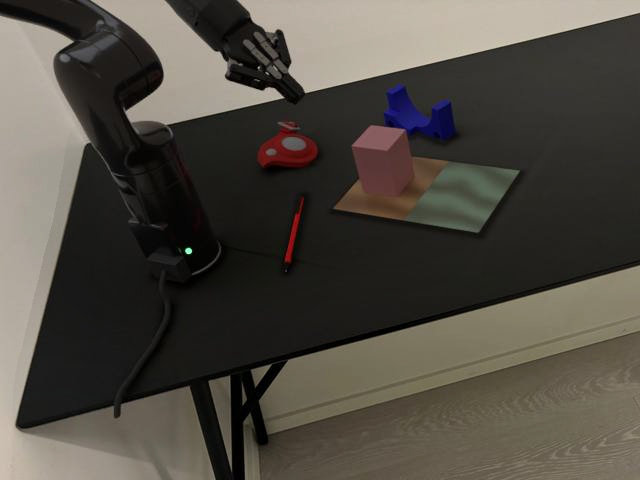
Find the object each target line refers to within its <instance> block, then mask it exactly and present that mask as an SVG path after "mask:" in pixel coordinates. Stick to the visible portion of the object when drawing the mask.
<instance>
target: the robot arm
mask: <svg viewBox="0 0 640 480" xmlns="http://www.w3.org/2000/svg"><path fill="white" fill-rule="evenodd" d="M164 1H165V2H166V3H167V4H168V5H169V7H170V8H171V9H172V10H173V12H174V14H176V16H178V18H179V19H180V20H182V21H183V23H185V24H186V26H188V28H190V29H191V30H192V32H194V33H195V35H197V36H198V37H199V38H200V39H201V40H202V41H203V42H204V43H205V44H206V45H207V46H208V47H209V48H210V49H211V50H212V51H214V52H215V53H220V55H221V57H222V59H223V60H224V61H225V62H226V66H227V67H226V72H225V74H224V78H225V80H227V81H228V82H232V83H236V84H238V85H240V86H241V85H242V86H245V87H248V88H251V89H254V90H258V91H262V92H263V91H265V90H266V89H268V88H270V89H274V90H275V91H276V92H278V93H279V94H280V95H281V96H282V97H283V99H284V100H286V101H287V102H288V103H290V104H292V105H297V104H298V103H300V102H301V101H302V100H303V99H304V97H305V96H306V91H305V89H304V87H303V86H302V85H301V84H300V83H299V82H298V81H297V80H296V79H295V78H294V77H293V76H292V75H291V74H290V72H289V69H290V67H291V66H292V63H293V62H292V59H291V54H290V51H289V47H288V44H287V40H286V37H285V34H284V33H285V32H284V31H283V30H282V29H279V28H277V29H276V30H275V31H274V32H271V31H266V30H265V28H263V26H261V25H259V24H257V23H256V22H254V20H253V19H252V16H251V13H250V11H249V10H248V9H247V8H246V7H245V6H244V5H243V4H242V3H241V2H240V1H239V0H164ZM0 17H2V18H6V19H10V20H12V21H13V20H14V21H18V22H22V23H26V24H31V25H34V26H38V27H41V28H45V29H48V30H50V31H52V32H56V33H57V34H59V35H61V36H63V37H65V38H67V39H69V40H70V41H72V42H71V43H70V44H68V45H66V46H64V47H62V48H61V49H59V51H57V52H56V53H55V55H54V56H53V62H52V67H53V73H54V76H55V80H56V82H57V85H58V86H59V89H60V91H61V92H62V94H63V96H64V98H65V100H66V101H67V103H68V105H69V106H70V109H71V110H72V112H73V113H74V115H75V117H76V119H77V120H78V122H79V124H80V126H81V128H82V130H83V131H84V134H85V135H86V137H87V138H88V140H89V142H90V144H91V145H92V147H93V148H94V150H95V151H96V152H97V154H99V156H100V157H101V158H102V160H103V161H104V163H105V165H106V167H107V169H108V171H109V173H110V174H111V177H112V180H113V181H114V183H115V185H116V187H117V190H118V192H119V193H120V195H121V197H122V200H123V202H124V203H125V206H126V208H127V210H128V212H129V214H130V216H131V218H130V219H129V220H128V221H127V223H128V226H129V228H130V230H131V232H132V234H133V236H134V238H135V240H136V242H137V244H138V247H139V248H140V250H141V252H142V254H143V256H144V258H145V259H146V262H147V264H148V266H149V268H150V270H151V272H152V274H153V276H154V277H155V278H158V279H159V282H158V291H159V295H160V297H161V298H162V300H163V303H164V315H163V320H162V321H161V324H160V326H159V327H158V329H157V332H155V336H154V337H153V339H152V340H151V343H150V344H149V346H148V347H147V348H146V350H145V351H144V353H142V355H141V357H140V358H139V360H138V361H137V362H136V364H135V366H134V367H133V368H132V370H131V372H130V373H129V375H128V376H127V377H126V379H125V380H124V381H123V383H122V384H121V385H120V387H119V388H118V390H117V392H116V395H115V398H114V402H113V418H114V419H118V418H120V417H121V414H122V403H123V398H124V395H125V393H126V392H127V390H128V388H129V387H130V385H131V384H133V382H134V381H135V379H136V377H137V376H138V374H139V372H140V371H141V369H142V368H143V366H144V365H145V363H146V362H147V361H148V360H149V358H150V357H151V355H152V354H153V352H154V351H155V350H156V348H157V346H158V345H159V343H160V341H161V339H162V337H163V335H164V333H165V331H166V329H167V327H168V325H169V323H170V320H171V315H172V304H171V303H172V302H171V300H170V299H171V298H170V297H169V295H168V294H167V292H166V281H167V280H168V281H172V282H176V283H181V284H185V283H189V282H190V281H191V280H193V278H197V277H198V276H201V275H203V274H205V273H207V272H208V271H210V270H212V268H214V267H215V266H216V265H217V264H218V263H219V262H220V260H221V257H222V256H223V249H222V246H221V244H220V242H219V241H218V239H217V236H216V234H215V231H214V229H213V227H212V224H211V222H210V219H209V217H208V214H207V212H206V210H205V208H204V205H203V202H202V200H201V197H200V195H199V193H198V190H197V188H196V186H195V183H194V181H193V179H192V175H191V174H190V171H189V169H188V167H187V164H186V162H185V159H184V157H183V153H182V151H181V150H180V147H179V145H178V143H177V140H176V138H175V136H174V133H173V131H172V129H171V128H170V127H169V126H168V125H166V124H165V123H163V122H160V121H156V120H138V121H131V120H130V118H129V116H128V114H127V113H126V112H128V110H131V108H133V107H135V106H136V105H138V104H139V103H141V102H142V101H144V100H145V99H146V98H148V97H149V96H150V95H152V94H153V93H155V92H156V91H157V90H158V89H159V88H160V87H161V85H163V82H164V78H165V70H164V67H163V63H162V61H161V58H160V57H159V55H158V54H157V53H156V51H155V50H154V49H153V47H152V45H150V44H149V42H148V41H147V40H146V39H145V38H144V37H143V36H142V35H141V34H140V33H138V31H136V30H135V29H134V28H133V27H131V26H130V25H129V24H127V23H126V22H125V21H124V20H122V19H120V18H118V17H117V16H116V15H114V14H113V13H111V12H110V11H108V10H107V9H105V8H103V7H102V6H100V5H99V4H97V3H96V2H94V1H93V0H0Z"/></svg>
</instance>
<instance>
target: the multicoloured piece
mask: <svg viewBox="0 0 640 480" xmlns="http://www.w3.org/2000/svg"><path fill="white" fill-rule="evenodd" d="M411 158H412V163H413V168H414V173H415V176H414V177H413V179H412V180H411V181H410V182H409V184H408V185H407V186H406V187H405V189H404V190H403V191H402V192H401V194H400V195H399V196H398V197H392V196H386V195H379V194H373V193H366V192H363V189H362V185H361V181H360V178H358V179H357V181H356V182H355V183H354V184H353V185H352V186H351V188H350V189H349V190H347V192H346V193H345V194H344V195H343V196H342V197H341V198H340V200H339V201H338V202H337V203H336V204H335V205H334V207H333V208H332V209H333V210H337V211H343V212H350V213H356V214H361V215H369V216H374V217H379V218H380V217H381V218H385V219H393V220H398V221H405V222H412V223H416V224H422V225H430V226H434V227H435V226H436V227H440V228H441V227H442V228H446V229H447V228H448V229H454V230H460V231H466V232H472V233H478V234H479V233H480V232H481V230H482V228H483V227H484V225H486V223H487V221H488V220H489V218H490V216H491V215H492V214H493V212H494V211H495V209H496V208H497V206H498V205H499V203H500V202H501V200H502V199H503V197H504V195H506V192H508V190H509V188H510V187H511V185H512V184H513V182H514V181H515V179H516V178H517V176H518V174H519V173H520V172H521V170H517V169H511V168H504V167H503V168H502V167H495V166H488V165H481V164H480V165H479V164H472V163H465V162H458V161H450V160H443V159H435V158H428V157H427V158H426V157H422V156H421V157H419V156H412V155H411Z"/></svg>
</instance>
